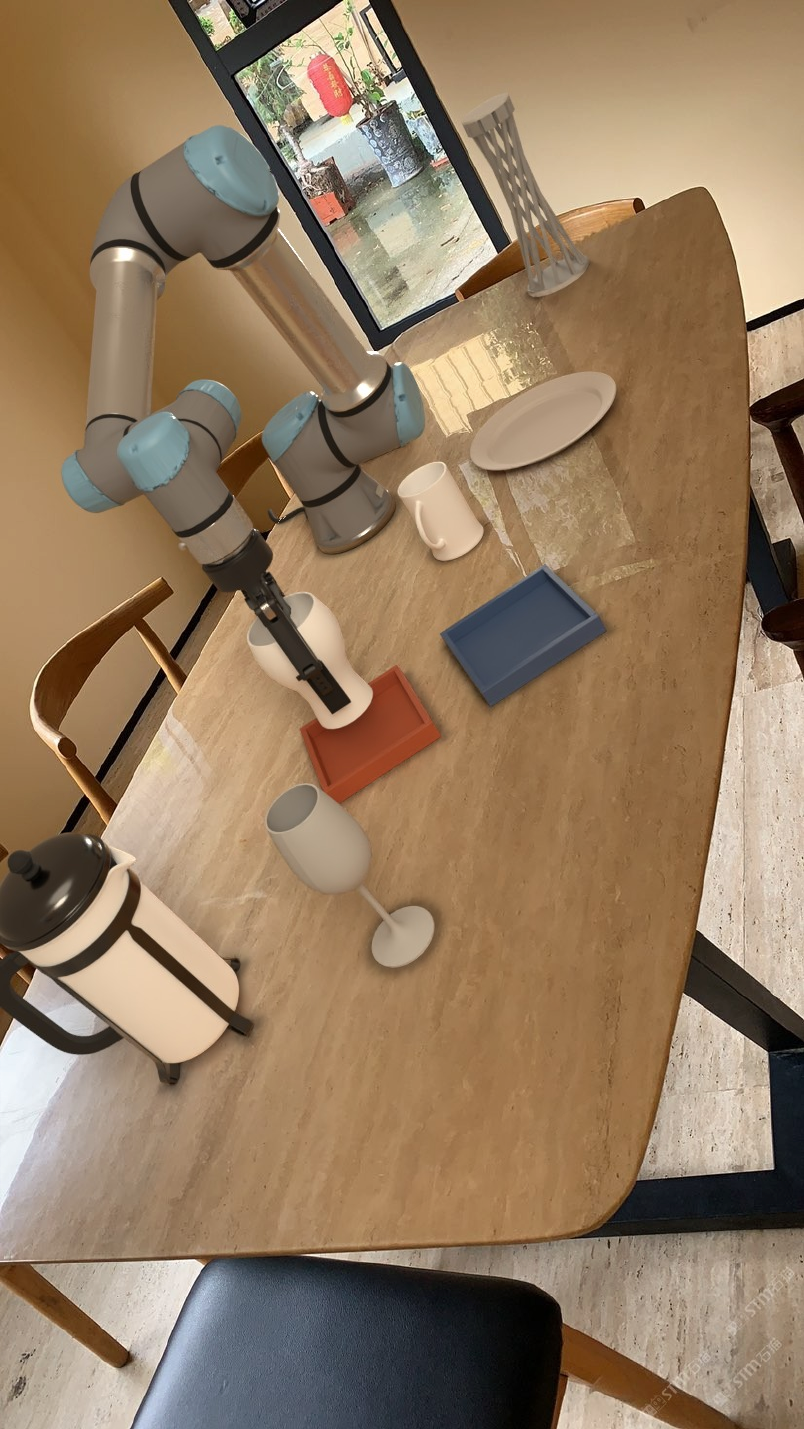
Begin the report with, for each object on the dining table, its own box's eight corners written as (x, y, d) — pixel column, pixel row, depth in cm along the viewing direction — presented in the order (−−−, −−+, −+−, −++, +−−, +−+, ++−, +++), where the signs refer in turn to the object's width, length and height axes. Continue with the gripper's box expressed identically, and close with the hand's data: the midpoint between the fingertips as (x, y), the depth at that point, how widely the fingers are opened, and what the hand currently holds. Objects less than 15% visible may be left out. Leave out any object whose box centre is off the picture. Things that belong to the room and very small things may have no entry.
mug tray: (448, 646, 139) (439, 633, 138) (552, 577, 138) (544, 563, 137) (490, 707, 125) (481, 693, 124) (606, 630, 124) (599, 615, 123)
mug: (465, 570, 151) (427, 505, 144) (418, 579, 156) (378, 517, 149) (491, 519, 157) (455, 455, 151) (445, 529, 162) (408, 467, 156)
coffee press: (193, 950, 121) (16, 786, 104) (287, 974, 110) (106, 796, 94) (105, 1087, 112) (-104, 932, 95) (198, 1127, 102) (-19, 961, 85)
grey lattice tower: (517, 301, 216) (439, 136, 197) (549, 265, 222) (477, 101, 202) (568, 290, 207) (492, 114, 187) (601, 253, 212) (530, 78, 192)
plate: (646, 409, 157) (641, 397, 156) (500, 499, 160) (495, 489, 159) (585, 366, 178) (581, 356, 177) (458, 447, 181) (452, 437, 180)
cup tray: (309, 741, 140) (299, 728, 138) (406, 677, 139) (397, 663, 138) (334, 806, 127) (323, 793, 126) (441, 736, 126) (431, 722, 125)
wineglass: (444, 903, 106) (338, 771, 95) (424, 969, 102) (310, 838, 90) (384, 906, 110) (275, 780, 99) (361, 969, 106) (244, 844, 94)
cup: (309, 699, 135) (244, 615, 127) (380, 663, 132) (318, 575, 124) (310, 751, 127) (240, 664, 118) (386, 714, 124) (320, 623, 116)
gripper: (188, 529, 125) (288, 659, 137) (211, 607, 106) (325, 750, 118) (240, 494, 124) (335, 627, 137) (273, 566, 105) (380, 713, 118)
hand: (330, 684), depth 127 cm, fingers closed on cup, 11 cm apart
